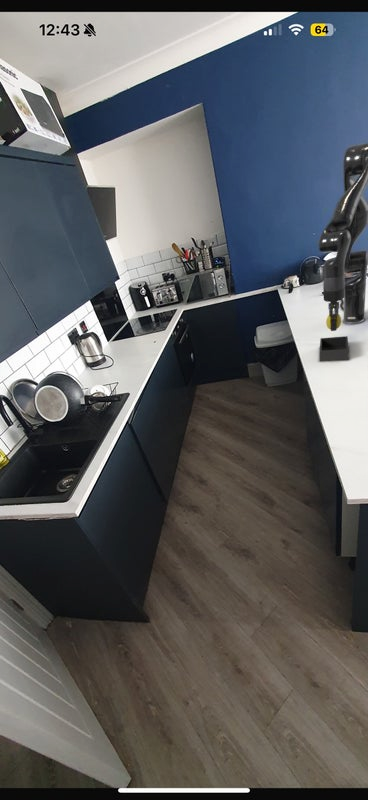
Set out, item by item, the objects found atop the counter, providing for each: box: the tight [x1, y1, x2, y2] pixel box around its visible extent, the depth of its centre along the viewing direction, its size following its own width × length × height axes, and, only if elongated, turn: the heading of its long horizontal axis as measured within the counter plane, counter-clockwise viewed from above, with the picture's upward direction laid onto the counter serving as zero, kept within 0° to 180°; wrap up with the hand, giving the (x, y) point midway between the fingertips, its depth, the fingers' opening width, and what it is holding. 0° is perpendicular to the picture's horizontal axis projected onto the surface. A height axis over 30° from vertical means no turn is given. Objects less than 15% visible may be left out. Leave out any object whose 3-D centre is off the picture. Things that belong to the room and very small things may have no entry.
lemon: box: [325, 313, 342, 330], centre depth 128 cm, size 6×6×8 cm
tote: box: [319, 335, 350, 362], centre depth 134 cm, size 13×11×5 cm
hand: (333, 327), depth 130 cm, fingers closed on lemon, 5 cm apart
